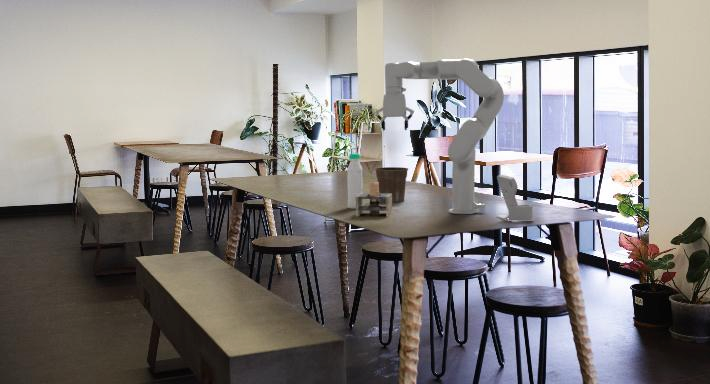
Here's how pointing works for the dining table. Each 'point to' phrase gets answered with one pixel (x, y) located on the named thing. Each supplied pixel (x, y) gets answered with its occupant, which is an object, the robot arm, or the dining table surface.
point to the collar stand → (361, 207)
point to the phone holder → (513, 200)
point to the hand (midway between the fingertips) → (394, 130)
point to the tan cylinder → (374, 192)
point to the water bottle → (354, 180)
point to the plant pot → (392, 182)
